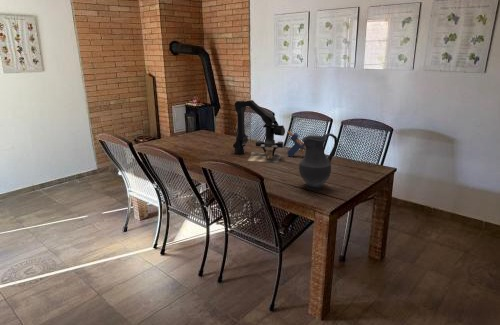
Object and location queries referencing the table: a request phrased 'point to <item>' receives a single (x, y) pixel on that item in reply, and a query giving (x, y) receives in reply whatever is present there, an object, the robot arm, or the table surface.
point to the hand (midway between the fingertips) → (269, 156)
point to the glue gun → (296, 145)
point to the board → (263, 157)
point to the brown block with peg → (269, 154)
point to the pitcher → (316, 161)
